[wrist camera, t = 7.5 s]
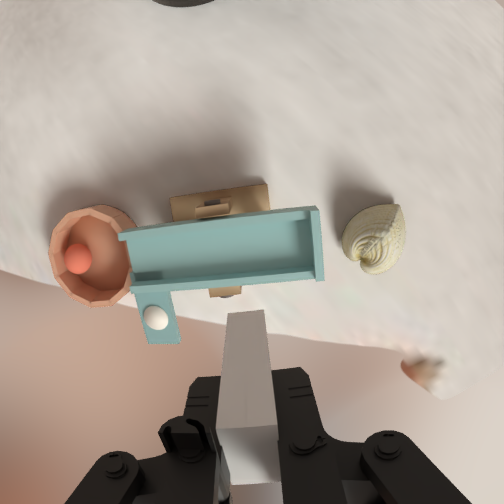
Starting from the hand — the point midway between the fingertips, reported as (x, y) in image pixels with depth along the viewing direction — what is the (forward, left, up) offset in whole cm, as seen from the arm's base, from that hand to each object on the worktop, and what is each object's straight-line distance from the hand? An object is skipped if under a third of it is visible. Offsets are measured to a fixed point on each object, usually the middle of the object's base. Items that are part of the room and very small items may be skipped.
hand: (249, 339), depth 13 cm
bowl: (+1, -20, -28) cm, 34 cm away
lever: (+4, -3, -20) cm, 21 cm away
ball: (+1, -21, -26) cm, 33 cm away
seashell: (+3, +16, -28) cm, 33 cm away
